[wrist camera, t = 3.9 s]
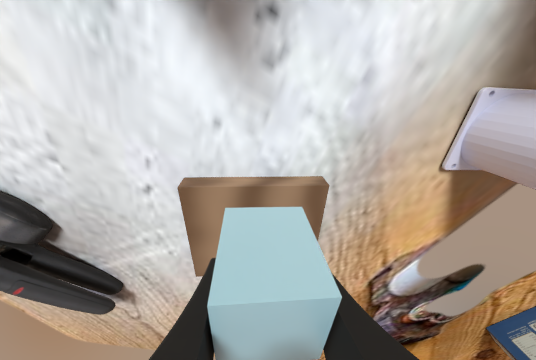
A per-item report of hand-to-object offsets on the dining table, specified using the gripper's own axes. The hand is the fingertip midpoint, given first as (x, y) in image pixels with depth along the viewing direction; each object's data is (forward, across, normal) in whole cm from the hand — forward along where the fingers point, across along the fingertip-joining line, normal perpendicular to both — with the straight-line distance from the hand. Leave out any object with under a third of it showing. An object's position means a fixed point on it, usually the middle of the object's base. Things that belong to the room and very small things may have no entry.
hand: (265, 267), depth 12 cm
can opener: (+10, +22, +8) cm, 25 cm away
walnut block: (+10, 0, +4) cm, 11 cm away
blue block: (+2, 0, 0) cm, 2 cm away
